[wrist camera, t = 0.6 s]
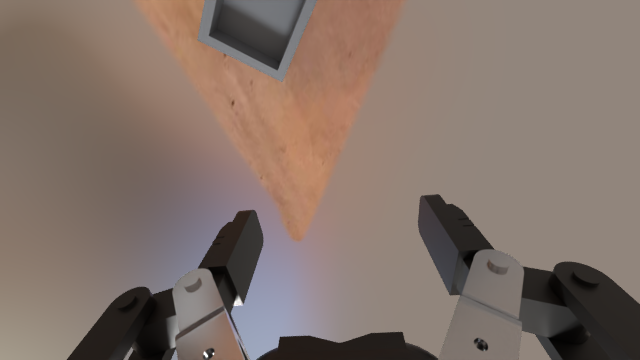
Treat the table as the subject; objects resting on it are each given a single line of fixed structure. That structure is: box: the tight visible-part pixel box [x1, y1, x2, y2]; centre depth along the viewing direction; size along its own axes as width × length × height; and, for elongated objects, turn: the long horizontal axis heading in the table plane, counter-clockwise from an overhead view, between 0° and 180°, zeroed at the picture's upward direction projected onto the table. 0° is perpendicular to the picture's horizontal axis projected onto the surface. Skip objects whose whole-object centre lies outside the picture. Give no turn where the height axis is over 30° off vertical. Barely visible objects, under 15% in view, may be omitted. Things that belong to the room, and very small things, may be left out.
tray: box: [197, 0, 317, 82], centre depth 27 cm, size 10×12×4 cm
